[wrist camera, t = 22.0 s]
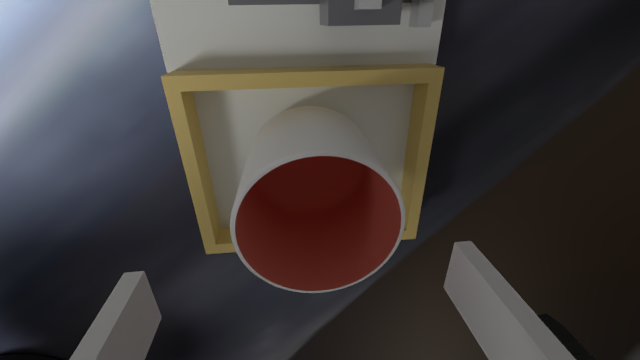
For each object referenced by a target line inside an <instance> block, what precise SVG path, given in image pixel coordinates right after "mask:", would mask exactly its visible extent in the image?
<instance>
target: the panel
mask: <svg viewBox="0 0 640 360" xmlns="http://www.w3.org/2000/svg"><path fill="white" fill-rule="evenodd" d="M149 1H150V5H151V9H152V13H153V17H154V21H155V26H156V30H157V34H158V38H159V42H160V46H161V50H162V54H163V58H164V62H165V67H166V71H167V74H165V75H163V76H161V79H162V83H163V87H164V91H165V95H166V99H167V103H168V107H169V111H170V115H171V119H172V122H173V126H174V130H175V134H176V138H177V142H178V146H179V150H180V154H181V158H182V162H183V166H184V170H185V173H186V177H187V181H188V185H189V189H190V193H191V197H192V201H193V205H194V209H195V213H196V217H197V221H198V224H199V228H200V232H201V236H202V240H203V244H204V248H205V252H206V254H216V253H230V252H236V250H235V248H234V246H233V242H232V239H231V234H230V218H231V212H232V208H233V205H234V201H235V198H236V194H237V191H238V188H239V184H240V181H241V177H242V174H243V171H244V167H245V164H246V160H247V157H248V154H249V150H250V147H251V144H252V142H253V140H254V138H255V136H256V135H257V133H258V132H259V130H260V129H261V128H262V127H263V126H264V125H265V124H266V123H267V122H268V121H269V120H270V119H272V118H273V117H274V116H276V115H278V114H279V113H282V112H284V111H286V110H289V109H292V108H295V107H301V106H320V107H326V108H329V109H332V110H335V111H337V112H339V113H341V114H343V115H345V116H346V117H347V118H349V119H350V120H351V121H352V122H354V123H355V124H356V125H357V127H358V128H359V129H360V130H361V132H362V133H363V135H364V136H365V138H366V139H367V141H368V142H369V144H370V145H371V147H372V148H373V150H374V151H375V153H376V154H377V156H378V157H379V159H380V160H381V162H382V163H383V165H384V166H385V168H386V170H387V171H388V173H389V174H390V176H391V177H392V179H393V180H394V182H395V183H396V185H397V186H398V188H399V190H400V192H401V195H402V197H403V201H404V206H405V227H404V231H403V235H402V238H401V240H404V239H416V233H417V227H418V222H419V216H420V210H421V204H422V198H423V193H424V187H425V181H426V175H427V169H428V163H429V158H430V152H431V146H432V140H433V134H434V129H435V123H436V117H437V111H438V105H439V99H440V94H441V88H442V82H443V76H444V70H445V68H444V67H441V66H438V65H436V61H437V55H438V49H439V42H440V36H441V30H442V23H443V17H444V11H445V4H446V0H402V10H401V20H400V25H358V26H324V25H320V4H319V0H149Z"/></svg>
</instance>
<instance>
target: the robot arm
mask: <svg viewBox="0 0 640 360" xmlns="http://www.w3.org/2000/svg"><path fill="white" fill-rule="evenodd" d="M444 289H445V290H446V292H447V293H448V295H449V297H450V298H451V300H452V301H453V303H454V305H455V306H456V308H457V309H458V311H459V312H460V314H461V316H462V317H463V319H464V321H465V322H466V324H467V325H468V327H469V329H470V330H471V332H472V333H473V335H474V337H475V338H476V340H477V341H478V343H479V345H480V346H481V348H482V349H483V351H484V353H485V354H486V356H487V357H488V359H489V360H596V359H595V358H594V357H593V356H590V354H589V352H588V351H587V350H586V349H585V348H584V347H583V346H582V344H581V343H578V340H577V339H576V338H575V337H574V336H573V335H572V334H571V333H570V332H569V331H568V330H567V329H566V328H565V327H564V326H563V325H562V324H560V323H559V322H557V321H556V320H555V319H553V318H552V317H551V316H549V315H548V314H541V315H536V314H535V313H534V312H533V311H532V309H531V308H530V307H529V306H528V305H527V304H526V303H525V302H524V300H523V299H522V298H521V297H520V296H519V295H518V294H517V292H515V290H514V289H513V288H512V287H511V286H510V285H509V283H508V282H507V281H506V280H505V279H504V278H503V277H502V276H501V274H500V273H499V272H498V271H497V270H496V269H495V268H494V266H493V265H492V264H491V263H490V262H489V261H488V260H487V259H486V257H485V256H484V255H483V254H482V253H481V252H480V251H479V250H478V248H477V247H476V246H475V245H474V244H473V243H472V242H471V241H465V242H455V243H454V247H453V251H452V255H451V259H450V263H449V267H448V271H447V275H446V280H445V284H444ZM161 318H162V317H161V314H160V311H159V309H158V306H157V303H156V301H155V298H154V296H153V293H152V290H151V288H150V285H149V282H148V280H147V277H146V274H145V272H144V271H138V272H127V273H124V274H123V275H122V277H121V278H120V280H119V281H118V283H117V285H116V286H115V288H114V289H113V291H112V293H111V294H110V296H109V297H108V299H107V301H106V302H105V304H104V305H103V307H102V309H101V310H100V312H99V313H98V315H97V316H96V318H95V320H94V321H93V323H92V324H91V326H90V328H89V329H88V331H87V332H86V334H85V336H84V337H83V339H82V340H81V342H80V344H79V345H78V347H77V348H76V350H75V351H74V353H73V355H72V356H71V358H70V359H69V360H145V358H146V355H147V353H148V350H149V348H150V346H151V343H152V341H153V338H154V336H155V333H156V331H157V328H158V326H159V323H160V321H161ZM0 360H58V359H54V358H50V357H45V356H39V355H29V354H11V355H2V356H0Z"/></svg>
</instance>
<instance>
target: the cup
mask: <svg viewBox="0 0 640 360" xmlns="http://www.w3.org/2000/svg"><path fill="white" fill-rule="evenodd" d="M404 227H405V206H404V201H403V197H402V195H401V192H400V190H399V188H398V186H397V185H396V183H395V182H394V180H393V179H392V177H391V176H390V174H389V173H388V171H387V170H386V168H385V166H384V165H383V163H382V162H381V160H380V159H379V157H378V156H377V154H376V153H375V151H374V150H373V148H372V147H371V145H370V144H369V142H368V141H367V139H366V138H365V136H364V135H363V133H362V132H361V130H360V129H359V128H358V127H357V125H356V124H355V123H354V122H352V121H351V120H350V119H349V118H347V117H346V116H345V115H343V114H341V113H339V112H337V111H335V110H332V109H329V108H326V107H320V106H301V107H295V108H292V109H289V110H286V111H284V112H282V113H279V114H278V115H276V116H274V117H273V118H272V119H270V120H269V121H268V122H267V123H266V124H265V125H264V126H263V127H262V128H261V129H260V130H259V132H258V133H257V135H256V136H255V138H254V140H253V142H252V144H251V147H250V150H249V154H248V157H247V160H246V164H245V167H244V171H243V174H242V177H241V181H240V184H239V188H238V191H237V194H236V198H235V201H234V205H233V208H232V212H231V218H230V234H231V239H232V242H233V246H234V248H235V250H236V252H237V254H238V256H239V258H240V259H241V261H242V262H243V263H244V264H245V266H246V267H247V268H248V269H249V270H250V271H251V272H253V273H254V274H255V275H256V276H258V277H259V278H260V279H262V280H264V281H266V282H268V283H269V284H272V285H274V286H276V287H279V288H282V289H285V290H290V291H295V292H303V293H321V292H329V291H334V290H339V289H342V288H346V287H348V286H351V285H354V284H356V283H358V282H360V281H362V280H364V279H366V278H367V277H369V276H370V275H372V274H373V273H375V272H376V271H377V270H378V269H380V268H381V267H382V266H383V265H384V264H385V263H386V262H387V261H388V259H389V258H390V257H391V256H392V254H393V253H394V252H395V250H396V248H397V247H398V245H399V242H400V240H401V238H402V235H403V231H404Z"/></svg>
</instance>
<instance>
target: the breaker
mask: <svg viewBox="0 0 640 360" xmlns="http://www.w3.org/2000/svg"><path fill="white" fill-rule="evenodd" d="M319 4H320V25H324V26H358V25H400V20H401V10H402V0H319Z"/></svg>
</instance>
